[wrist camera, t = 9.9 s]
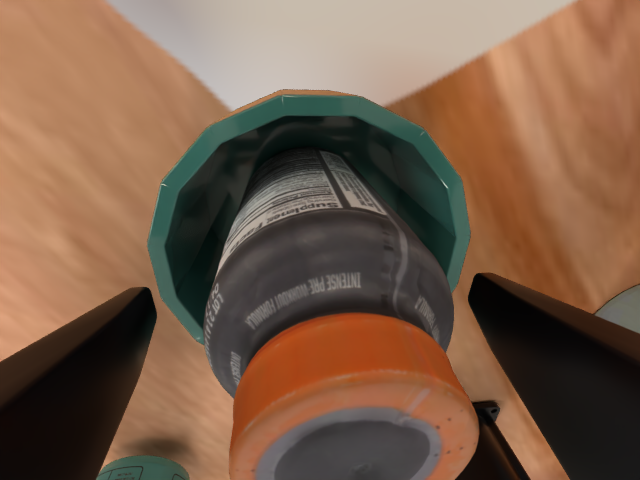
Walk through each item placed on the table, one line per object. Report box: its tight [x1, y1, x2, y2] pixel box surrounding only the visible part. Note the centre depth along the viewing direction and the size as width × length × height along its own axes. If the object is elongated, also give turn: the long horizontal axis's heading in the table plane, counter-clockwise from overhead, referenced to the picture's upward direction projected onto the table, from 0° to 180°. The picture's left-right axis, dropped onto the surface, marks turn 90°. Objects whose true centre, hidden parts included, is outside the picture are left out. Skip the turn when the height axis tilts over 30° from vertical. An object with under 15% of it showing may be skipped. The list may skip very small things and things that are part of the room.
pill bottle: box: [203, 146, 479, 480], centre depth 10 cm, size 6×6×11 cm
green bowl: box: [147, 89, 471, 346], centre depth 13 cm, size 10×10×6 cm
